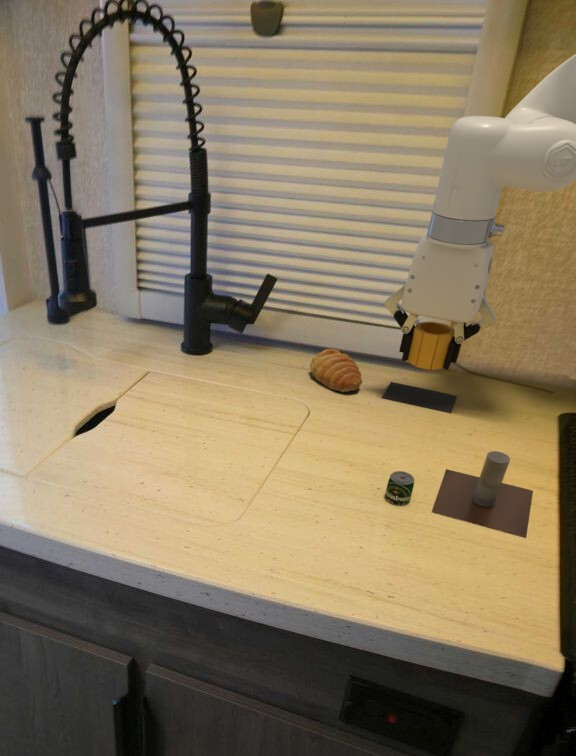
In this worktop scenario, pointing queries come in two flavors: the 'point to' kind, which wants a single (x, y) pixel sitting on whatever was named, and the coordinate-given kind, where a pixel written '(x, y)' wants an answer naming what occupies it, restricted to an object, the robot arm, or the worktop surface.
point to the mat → (420, 397)
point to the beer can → (399, 488)
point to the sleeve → (430, 345)
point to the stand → (485, 498)
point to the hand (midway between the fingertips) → (426, 360)
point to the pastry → (336, 370)
